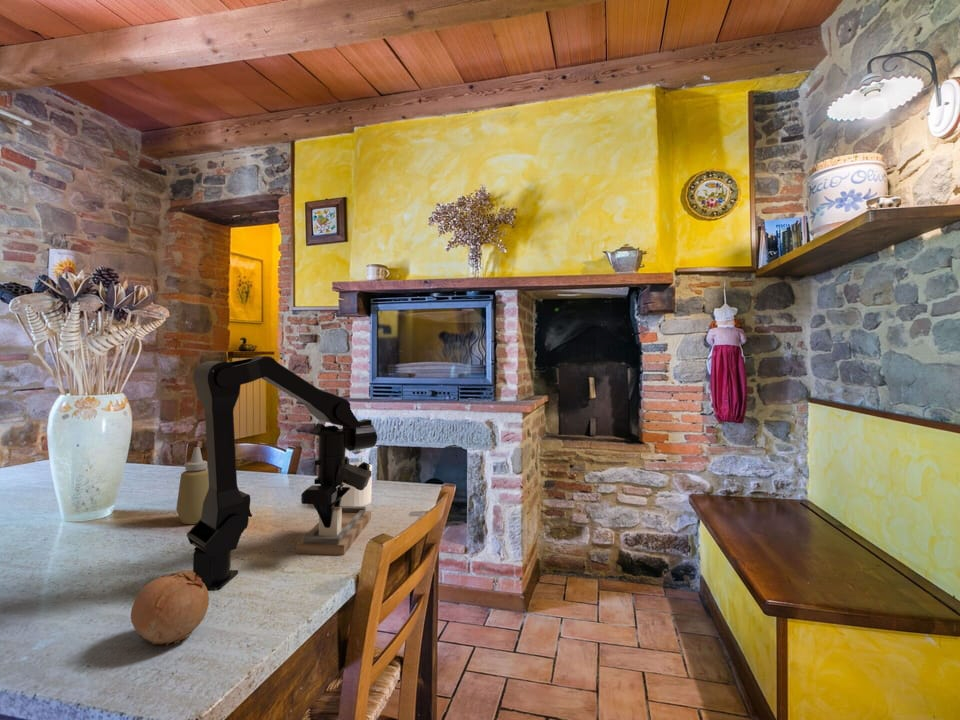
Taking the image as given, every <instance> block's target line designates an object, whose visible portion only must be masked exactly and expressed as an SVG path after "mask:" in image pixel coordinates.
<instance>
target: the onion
mask: <svg viewBox="0 0 960 720" xmlns="http://www.w3.org/2000/svg"><path fill="white" fill-rule="evenodd" d="M201 580H202V578H200V577H198V575H196V574H195V572H193V570H183V571H182V570H181V571H178V572H174V573H172V574H171V573H170V574H169V575H168V574H167V575H162V576H161V577H157V578H155V579H153V580H152V581H150V582H148V583H146V585H145V586H143V588H142V589H141V590H140V591H139V592H138V594H137V596H136V597H135V599H134V601H133V604H132V606H131V611H130V620H131V624H132V626H133V628H134V630H135V631H136V632H137V634H139V638H143V639H145V640H146V641H147V642H148V643H150V644H152V645H164V644H165V645H166V646H168V645H169V644H170V643H174V644H177V643H178V644H179V643H180V641H181V640H183V639H186V638H187V637H189V636H190V635H191V634H193V631H194V630H195V629H196V628H197V627H198V626H199V625H200V624H201V622H202V621H203V620H204V619H205V616H206V614H207V611H208V609H209V608H208V607H209V604H210V603H209V601H210V596H209V591H208V589H207V588H206V586H205V584H204V583H203V582H202V581H201Z"/></svg>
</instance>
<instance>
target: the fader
mask: <svg viewBox="0 0 960 720" xmlns="http://www.w3.org/2000/svg"><path fill="white" fill-rule="evenodd" d="M341 520H342V507H334V510H333V516H332V521H331V526H330V527H329V528H325V526H324V524H323V522H322V520H321V518H320V516H319V515H318V523H319V536H338V534H339V533H340V532H341Z"/></svg>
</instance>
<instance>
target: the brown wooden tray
mask: <svg viewBox="0 0 960 720" xmlns="http://www.w3.org/2000/svg"><path fill="white" fill-rule="evenodd" d="M340 507H342V520H341V532H340V533H339V534H338V536H319V522H318V523H317V524H316V525H314V527H312V529H310V530H309V531H308V532H307V533H306V534H305V535H304V536H303V537H302V538H301V539H300V540H299V541H298V542H296V546H295V547H296V548H295V550H296V551H295V553H296V554H300V555H301V554H304V555H306V554H307V555H331V556H332V555H338V556H339V555H341V556H344V555H345V554H346V553H347V552H348V550H349V549H350V548H351V547H352V546H353V544H354V543H355V541H356V540H357V538H358V537H359V535H361V533H362V531H363V530H364V529H365V528H366V527H367V525H368V524H369V522H370V521H371V519H372V510H371V511H370V510H366V509H367V506H364V507H357V506H340Z"/></svg>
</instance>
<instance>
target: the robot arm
mask: <svg viewBox="0 0 960 720" xmlns="http://www.w3.org/2000/svg"><path fill="white" fill-rule="evenodd" d="M192 375H193V377H192V379H193V384H194V388H195V391H196V395H197V397H198V400H199V402H200V404H201V406H202V408H203V411H204V417H205V418H204V419H205V437H206V455H207V456H206V458H207V469H208V477H209V489H208V492H207V494H206V497H205V499H204V502H203V509H202V516H201V519H200V520H199V521H198V522H197V523H196V524H193V527H191V529H189V531H188V532H187V533H186V538H187V540H188V542H189V544H190V545H192V546H194V547H195V548H194V549H193V550H194V551H193V553H192V555H193V558H192V559H193V560H192V561H193V562H192V571H193V572H195V574H196V575H198V577H200V578H202V580H201V581H202V582H203V583H204V584H205V586H206V588H207V590H208V589H209V590H220V589H222V588H223V587H224V586H225V585H226V584H228V583H229V581H231V580H232V579H234V577H236V576H237V575H238V574H239V570H237V569H231V561H232V560H231V558H232V557H231V556H232V551H234V550H236V549H237V546H238V545H239V541H240V539H241V536H242V534H243V533H244V531H245V530H246V529H247V528H248V525H249V518H252V517H253V514H252V512H251V495H250V494H248V493H246V492H244V491H241V490H240V489H239V486H238V477H237V475H238V474H237V456H236V439H235V436H236V435H235V420H234V419H235V417H234V416H235V415H234V410H235V407H236V405H237V402H238V399H239V397H240V393H241V385H245V384H250V383H252V382H254V381H257V380H259V379H261V380H264V381H265V382H267V383H268V384H270V385H272V386H274V387H275V388H277V389H278V390H280V391H282V392H283V393H285V394H287V395H289V396H290V397H292V398H293V399H294V400H297V401H298V402H300V403H302V404H303V405H304V407H306V410H308V412H309V413H310V414H311V415H312V416H314V418H316V419H317V420H318V421H320V422H324V423H329V424H331V425H326V426H325V425H324V424H323V423H316V424H315V426H314V427H312V428H311V429H310V430H309V431H308V434H309V435H311V436H312V435H313V436H315V437H316V436H317V437H318V439H317V440H318V441H317V443H318V444H317V445H318V449H317V453H318V454H317V459H315V460H314V466H317V477H316V478H314V480H313V481H314V484H313V485H310V486H309V487H307V488H306V489H305V490H304V491H303V492H302V493H301V494H300V495H301V497H300V498H301V499H300V502H301V503H300V504H302V505H313V507H314V508H315V510H316V512H317V514H318V517H319V516H320V518H321V520H322V522H323V524H324V526H325V528H329V527H330V526H331V521H332V516H333V510H334V507H340V503H341V500H342V497H343V495H344V494H345V493H347V492H348V491H349V490H350V487H344V485H345V484H348V485H350V486H353V487H355V488H356V489H358V490H363V489H364V488H365V487H366V486H367V484H368V481H369V479H370V477H371V474H372V475H373V470H372V471H370V468H369V464H370V463H367V462H365V461H363V462H360V463H361V464H360V465H359V466H358V467H357V465H351V464H349V463H350V458H349V457H348V456H346V450H347V451H348V452H353V451H361V450H365V449H366V450H367V449H372V448H374V447H375V446H376V444H377V442H378V434H377V430H376V428H375V427H374V425H373V420H372V419H369V418H364V419H360V420H358V419H357V418H356V416H355V414H354V412H353V411H352V409H351V403H350V401H349V400H348V399H347V398H345V397H341V396H340V395H337V394H334V393H331V392H328V391H325V390H322V389H319V388H318V387H317V386H315V385H313V384H311V383H310V382H308V381H307V380H306V379H304V378H302V377H301V376H299V375H298V374H296V373H294V372H293V371H292V370H290V369H288V368H287V367H285V366H283V364H281V363H279V362H277V360H276V359H275V358H274V357H272V356H269V355H256V356H253V357H250V358H246V359H239V360H238V359H237V360H233V361H228V362H227V361H213V360H208V361H205V362H202V363H201V364H199V365H198V366H197V367H196V368H195V369H194V371H193V374H192ZM339 426H341V428H339ZM371 472H372V473H371ZM343 483H345V484H343Z"/></svg>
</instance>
